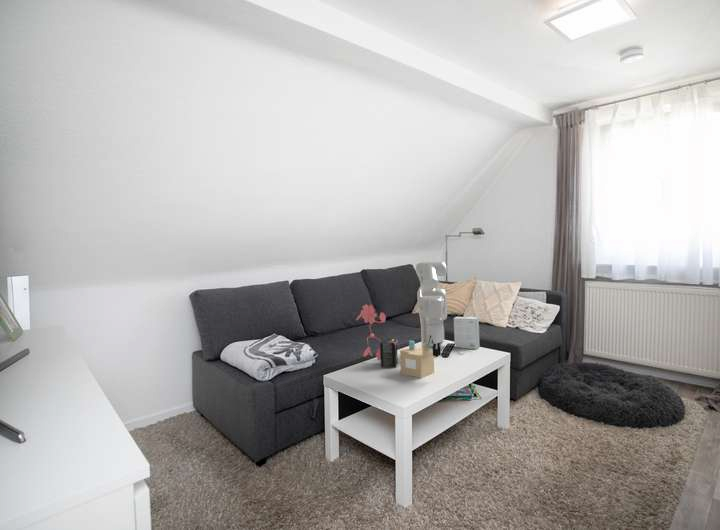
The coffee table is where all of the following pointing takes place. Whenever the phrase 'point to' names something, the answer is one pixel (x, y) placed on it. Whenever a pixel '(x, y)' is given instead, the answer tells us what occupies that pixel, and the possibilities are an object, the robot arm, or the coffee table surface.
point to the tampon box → (388, 353)
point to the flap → (426, 349)
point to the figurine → (369, 317)
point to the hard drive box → (466, 332)
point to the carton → (416, 361)
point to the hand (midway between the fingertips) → (436, 355)
